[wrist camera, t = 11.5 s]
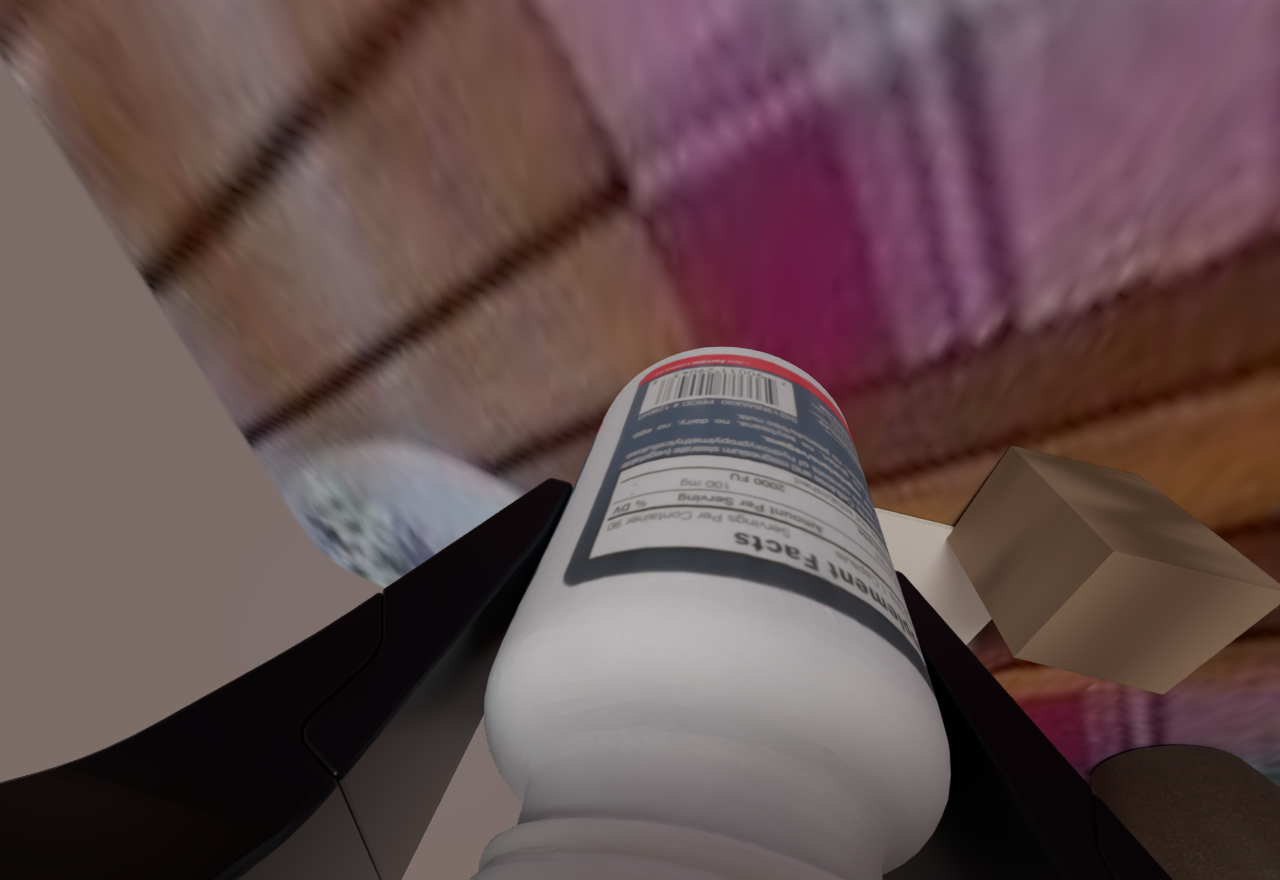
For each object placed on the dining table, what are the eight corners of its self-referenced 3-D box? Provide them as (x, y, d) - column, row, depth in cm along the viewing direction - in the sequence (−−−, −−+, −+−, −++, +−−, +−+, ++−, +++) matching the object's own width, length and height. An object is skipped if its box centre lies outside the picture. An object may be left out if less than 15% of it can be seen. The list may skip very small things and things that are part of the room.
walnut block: (1140, 475, 19) (1293, 594, 14) (1060, 566, 22) (1163, 694, 16) (1011, 445, 19) (1113, 551, 14) (946, 539, 22) (1014, 657, 17)
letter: (1050, 550, 22) (1055, 556, 21) (934, 670, 27) (936, 677, 27) (739, 475, 22) (739, 480, 22) (688, 608, 28) (688, 614, 28)
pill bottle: (724, 571, 13) (689, 1187, 5) (560, 453, 11) (237, 1038, 4) (909, 454, 10) (1348, 1413, 3) (716, 280, 9) (550, 1158, 1)
